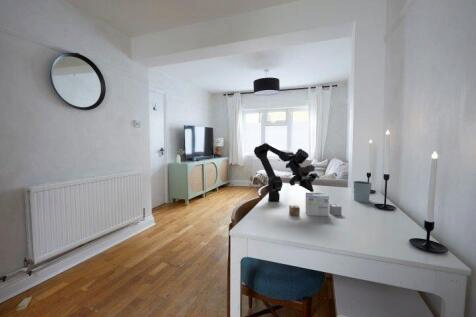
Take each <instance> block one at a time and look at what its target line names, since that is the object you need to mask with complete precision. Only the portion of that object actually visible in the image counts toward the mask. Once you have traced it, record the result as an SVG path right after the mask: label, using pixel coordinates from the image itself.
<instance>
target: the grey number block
mask: <svg viewBox="0 0 476 317" xmlns="http://www.w3.org/2000/svg"><path fill="white" fill-rule="evenodd" d="M329 214H330V215H332V216H342V206H341V205H340V204H339V203H337V204H336V203H335V204H334V203H329Z"/></svg>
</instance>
